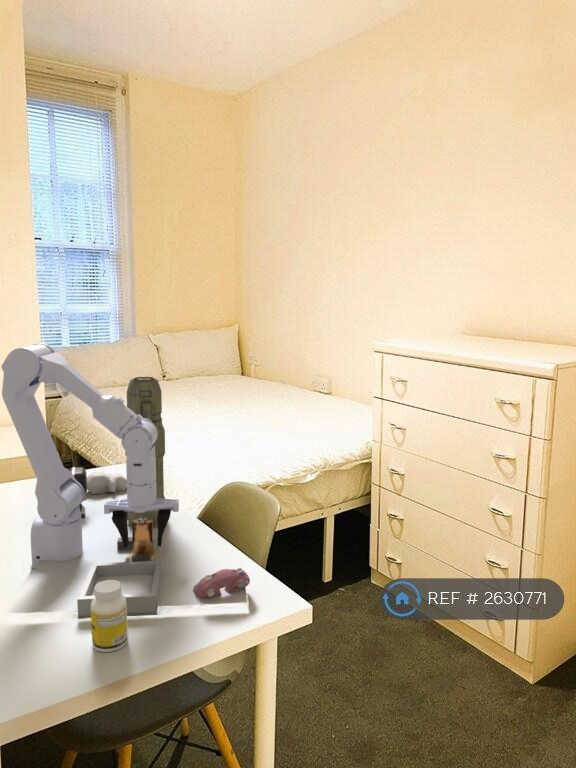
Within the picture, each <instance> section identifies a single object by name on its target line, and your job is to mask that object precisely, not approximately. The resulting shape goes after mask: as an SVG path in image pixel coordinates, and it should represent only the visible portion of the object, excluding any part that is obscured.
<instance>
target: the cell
mask: <svg viewBox="0 0 576 768" xmlns="http://www.w3.org/2000/svg"><path fill="white" fill-rule="evenodd" d="M131 529H132V537H133V554H151V556H152V555H153V549H154V548H153V540H154V532H153V531H154V530H153V529H154V528H153V521H152V520H151V519H149V518H139V519H136V520H134V521H133V522H132V527H131Z"/></svg>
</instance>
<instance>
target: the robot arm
mask: <svg viewBox="0 0 576 768" xmlns="http://www.w3.org/2000/svg"><path fill="white" fill-rule="evenodd" d="M0 368H1V370H2V373H3V379H2V390H1V397H2V400H3V403H4V404H5V406H6V409H7V411H8V414H9V416H10V418H11V421H12V423H13V425H14V427H15V431H16V433H17V435H18V438H19V439H20V442H21V444H22V446H23V449H24V451H25V454H26V456H27V458H28V461H29V463H30V465H31V468H32V470H33V473H34V475H35V477H36V484H35V490H34V495H35V498H36V500H37V506H36V508H37V509H36V510H37V514H38V515H39V517H38V518H37V517H36V518H34V520H33V522H32V523H31V524H32V525H31V529H30V550H31V552H30V553H31V565H30V568H31V569H35V568H36V567H37V566H38V564H39V562H41V561H51V562H52V561H53V562H65V561H70V560H73V559H75V558H78V557H80V556H81V555H82V553H83V552H84V549H83V548H84V545H83V525H82V523H83V522H82V521H83V520H82V519H83V518H81V511H80V508H79V505H80V504H82V503H83V501H84V500H85V495H86V493H85V492H84V489H83V487H82V485H81V484H80V483H79V482H77V481H76V480H75V478H74V476H73V474H72V472H71V471H70V469H68V468H66V467H64V464H63V461H62V459H61V457H60V455H59V452H58V450H57V447H56V445H55V443H54V441H53V438H52V435H51V433H50V430H49V428H48V427H47V423H46V421H45V419H44V416H43V414H42V412H41V409H40V407H39V404H38V401H37V400H36V397H35V394H36V392H37V391H38V389H39V387H40V385H41V383H48V384H49V383H50V384H58V385H60V386H61V387H62V388H64V389H65V390H67V391H68V392H69V393H71V395H73V396H75V397H76V398H78V399H79V400H80V401H81V402H83V403H84V404H85V405H87V406H88V407H89V408H90V409H91V411H92V417H93V419H94V420H96V422H98V423H100V424H101V425H102V426H103V427H104V428H106V429H107V430H108V431H109V432H110V433H111V434H113V435H114V436H115V437H116V438H118V439H119V440H120V441H121V442H120V443H121V446H122V448H123V450H124V451H126V455H125V456H126V458H125V459H126V460H125V464H126V466H125V467H126V468H125V469H126V472H125V473H126V478H127V488H126V498H123V499H117V500H106V501H105V503H104V504H103V512H104V513H103V514H104V515H109V514H111V513H112V516H111V520H112V523H113V524H114V526H115V528H116V529H117V531H118V533H119V536H120V537H121V539H122V542H123V546H124V548H127V546H128V543H129V537H130V536H129V529H128V525H129V524H128V512H135V513H143V512H145V511H158V515H157V523H158V527H157V539H156V540H157V541H156V543H157V547H162V544H163V536H164V533H165V530H166V526H167V525H168V523H169V520H170V518H171V515H172V514H171V513H172V512H173V513H178V512H179V511H180V510H179V509H180V508H179V507H180V499H175V498H174V499H173V498H172V499H170V498H165V499H163V498H156V458H155V446H154V445H153V444H154V443H155V441H156V439H157V436H158V431H157V428H156V426H155V425H154V424H153V423H152V421H151V420H149V419H142V418H143V417H142V416H141V415H140V414H139V415H136V414H135V413H134V412H133V411H132V410H130V409H129V408H128V407H127V404H125V403H124V402H125V400H124V399H123V398H122V397H121V396H119V397H116V396H115V395H112V394H111V395H104V394H103V393H102V392H101V391H99V389H97V387H95V385H93V384H92V383H91V382H90V381H89V380H88V379H86V377H85V376H83V374H81V373H80V372H79V371H78V370H77V369H76V368H75V367H74V366H73V365H72V364H70V363H69V361H68V360H67V359H66V358H65V357H64V356H63V355H62V354H61V353H59V352H58V351H55V350H54V348H52V347H51V346H50V345H49V344H46V343H42V342H37V343H35V344H32V345H29V346H24V347H17V348H14V349H13V350H11V351H10V352H9V353H8V354H7V356H6V357H5V359H4V361H3V363H2V364H1V367H0ZM152 445H153V446H152Z"/></svg>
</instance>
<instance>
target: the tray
mask: <svg viewBox="0 0 576 768" xmlns="http://www.w3.org/2000/svg"><path fill="white" fill-rule="evenodd" d="M163 568H164V567H163V560H151V561H143V562H132V561H122V562H120V561H119V562H117V561H116V562H97V563H95V562H94V563H93V562H92V564H91V567H90V569H89V571H88V574H87V576H86V578H85V580H84V583H83V584H82V587H81V590H80V592H79V594H78V597H77V603H76V604H77V617H78V618H77V619H91V602H92V600H93V599H94V598H95V595H91V593H92V592H93V590H94V589H93V588H94V587H95V585H96V581H97V578H98V577H114V576H116V577H117V576H139V575H142V576H143V575H153V580H152V586H151V590H150V592H148V593H147V592H145V593H127V594H126V593H124V594H123V595H124V596H125V598H126V605H127V617H133V616H134V617H136V616H138V617H139V616H154V615H155V616H157V613H158V607H159V606H158V599H159V594H160V588H161V582H162V577H163V570H164V569H163Z"/></svg>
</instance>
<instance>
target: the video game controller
mask: <svg viewBox="0 0 576 768" xmlns="http://www.w3.org/2000/svg"><path fill="white" fill-rule="evenodd" d="M250 582H251V579H250V576H249V574H248V573H247V572H246V571H245V570H244V569H242V568H241V567H238V568H236V569H233V568H231V569H229V568H223V569H220V570H218V571H216V572H214V573H212V574H209V575H208V574H207V575H205V576H204V577H203V578H201V579H200V580H199V581H198V582H197V583H195V585H193V588H192V592H193V593H194V595H195V596H196V597H198V598H207V599H208V598H211V597H214V596H218V595H222V592H221V589H224V591H225V592H226V593H227V594H228V593H232V592H236V591H240V590H243V589H245V588H246V587H248V586H249V584H250Z"/></svg>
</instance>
